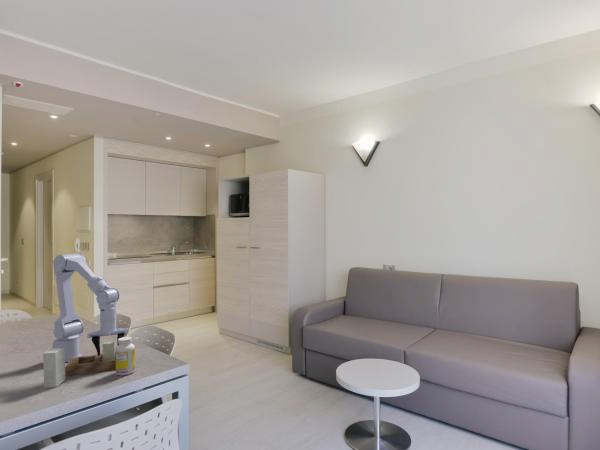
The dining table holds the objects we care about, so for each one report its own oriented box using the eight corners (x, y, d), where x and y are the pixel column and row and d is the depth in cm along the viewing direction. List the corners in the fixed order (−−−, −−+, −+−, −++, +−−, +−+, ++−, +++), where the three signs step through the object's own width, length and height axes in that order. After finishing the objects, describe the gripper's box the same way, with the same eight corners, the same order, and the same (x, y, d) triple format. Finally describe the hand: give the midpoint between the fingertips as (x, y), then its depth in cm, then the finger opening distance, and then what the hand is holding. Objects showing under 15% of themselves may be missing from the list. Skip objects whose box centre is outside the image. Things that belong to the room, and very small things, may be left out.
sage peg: (102, 365, 149) (102, 345, 149) (103, 362, 153) (103, 342, 153) (114, 364, 151) (113, 343, 151) (114, 361, 154) (114, 341, 154)
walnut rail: (65, 375, 141) (65, 366, 141) (70, 366, 151) (70, 357, 151) (124, 367, 149) (124, 359, 149) (126, 358, 159) (126, 350, 159)
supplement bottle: (129, 368, 148) (129, 334, 148) (138, 371, 144) (138, 337, 144) (112, 373, 143) (111, 339, 143) (120, 377, 139) (120, 342, 139)
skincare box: (53, 381, 136) (52, 347, 136) (65, 380, 137) (65, 347, 137) (43, 388, 130) (42, 353, 130) (56, 387, 131) (55, 352, 131)
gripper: (86, 323, 145) (86, 359, 145) (127, 319, 151) (128, 354, 151) (88, 319, 152) (89, 353, 152) (128, 316, 157) (129, 349, 157)
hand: (108, 353), depth 152 cm, fingers open, 6 cm apart
